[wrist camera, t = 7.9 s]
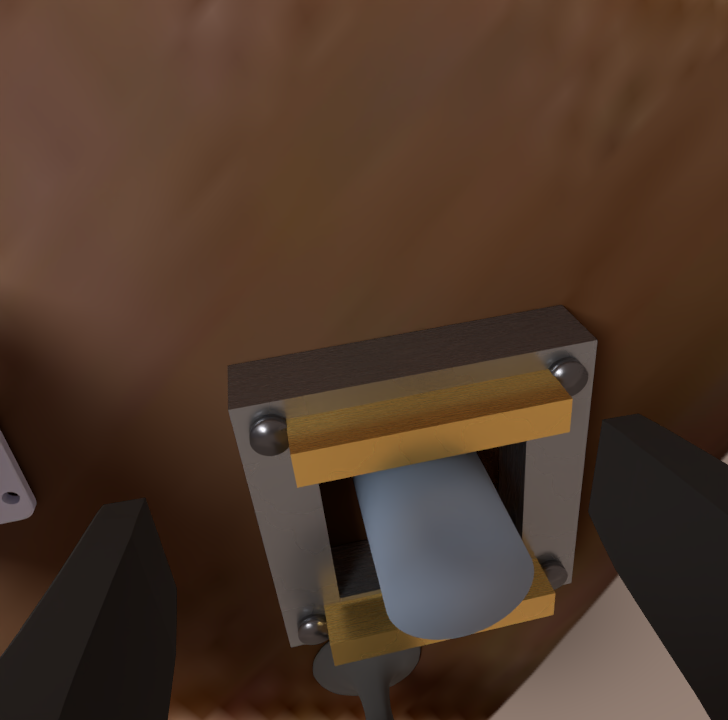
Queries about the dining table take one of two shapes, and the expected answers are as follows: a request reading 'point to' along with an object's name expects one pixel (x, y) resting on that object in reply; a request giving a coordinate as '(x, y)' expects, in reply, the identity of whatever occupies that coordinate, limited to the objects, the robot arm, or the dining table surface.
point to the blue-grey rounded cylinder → (443, 547)
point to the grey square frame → (412, 454)
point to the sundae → (366, 678)
